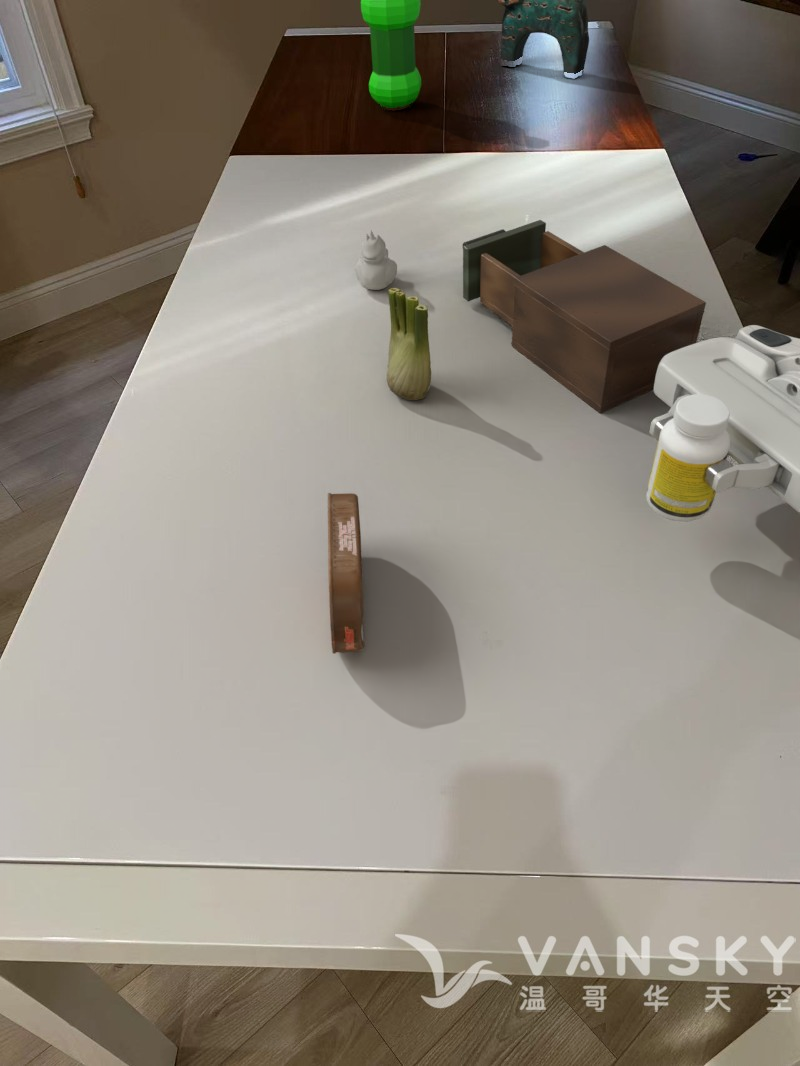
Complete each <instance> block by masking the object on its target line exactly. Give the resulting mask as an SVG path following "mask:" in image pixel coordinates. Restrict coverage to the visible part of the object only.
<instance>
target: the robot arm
mask: <svg viewBox="0 0 800 1066" xmlns="http://www.w3.org/2000/svg"><path fill="white" fill-rule="evenodd" d="M653 393H654V395H655V396H656V397H657V398H659V399H660V400H661V401H662V402H663V403H665V404H666V405H667V406H668V407H670V408H669V410H668V412H667V413H665V414H661V415H659V416H656V417H654V418H653V419H652V420H651V422H650V426H649V432H648V433H649V435H651V436H652V437H653V438H654V439H655V440H656V441H657V442H658V441H659V436H660V432H661V430H662V428H663V426H664V425H665V424H666V423H667V422H668V421H669V420H671V419H673V417H674V413H675V409H676V405H677V403H678V402H679V400H680V399H682V398H684V397H686V396H689V395H694V394H703V395H709V396H713V397H715V398H718V399H719V400H721V401H723V402H724V403H725V404H726V405H727V406H728V408H729V411H730V416H729V420H728V423H727V427H726V430H727V432H728V434H729V437H730V448H729V452H728V456H729V457H730V458H731V459H732V460H734V461H735V462H736V463H735V464H734V463H732V462H730V461H728V460H727V458H726V459H724V460H721V461H719V462H718V464H711V465H710V466H709V467H708V468H707V469H706V472H705V474H706V476H705V477H704V479H703V480H704V482H705V483H707V484H708V485H709V486H710V487H711V488H712V489H713V490H715V491H716V493H721V492H723V491H726V490H727V489H728V490H729V489H731V488H737V489H738V488H739V489H755V490H760V489H762V488H766V487H767V488H769V490H771V491H772V492H773V493H774V494H775V495H777V496H778V497H779V498H780V499H781V500H783V501H784V502H785V503H787V504H788V505H789V506H790V507H791V508H792V509H793V510H795V511H796V512H797V513H799V514H800V338H798V337H795V336H794V337H793V336H790V335H786V334H783V333H780V332H777V331H774V330H773V329H770V328H766V327H764V326H761V325H757V324H751V325H750V324H749V325H747V326H746V325H745V326H744V327H742V328H740V329H739V330H738V333H737V334H736V338H734V337H730V336H729V337H727V336H721V337H720V336H719V337H714V338H713V337H712V338H709V339H705V340H702V341H697V343H695V344H692V345H689V346H686V347H683V348H681V349H678V350H675V351H673V352H671V353H668V354H667V355H665V356H664V357H663V358H662V359H661V361H660V363H659V365H658V369H657V372H656V377H655V383H654V389H653Z"/></svg>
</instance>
